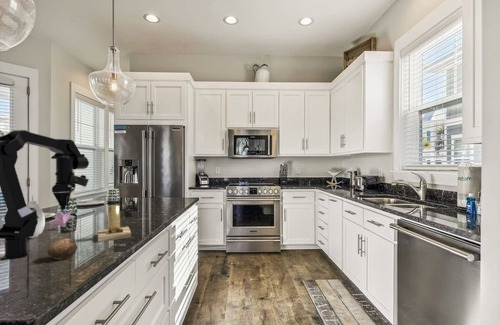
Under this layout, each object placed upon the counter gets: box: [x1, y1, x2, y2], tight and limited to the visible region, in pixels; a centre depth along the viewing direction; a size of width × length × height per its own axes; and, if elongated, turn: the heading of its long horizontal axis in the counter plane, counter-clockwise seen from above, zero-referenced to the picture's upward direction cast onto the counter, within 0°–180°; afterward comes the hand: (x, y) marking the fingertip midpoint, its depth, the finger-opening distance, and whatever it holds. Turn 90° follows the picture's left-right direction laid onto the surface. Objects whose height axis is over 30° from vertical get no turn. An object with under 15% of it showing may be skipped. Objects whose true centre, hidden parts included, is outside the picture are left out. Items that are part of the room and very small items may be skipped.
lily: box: [47, 210, 76, 231], centre depth 123 cm, size 11×11×9 cm
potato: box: [46, 238, 78, 261], centre depth 87 cm, size 8×8×6 cm
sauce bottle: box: [26, 194, 46, 239], centre depth 109 cm, size 8×8×18 cm
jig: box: [97, 226, 132, 243], centre depth 111 cm, size 12×12×2 cm
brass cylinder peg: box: [107, 204, 121, 234], centre depth 111 cm, size 4×4×13 cm
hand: (65, 207), depth 108 cm, fingers open, 9 cm apart
